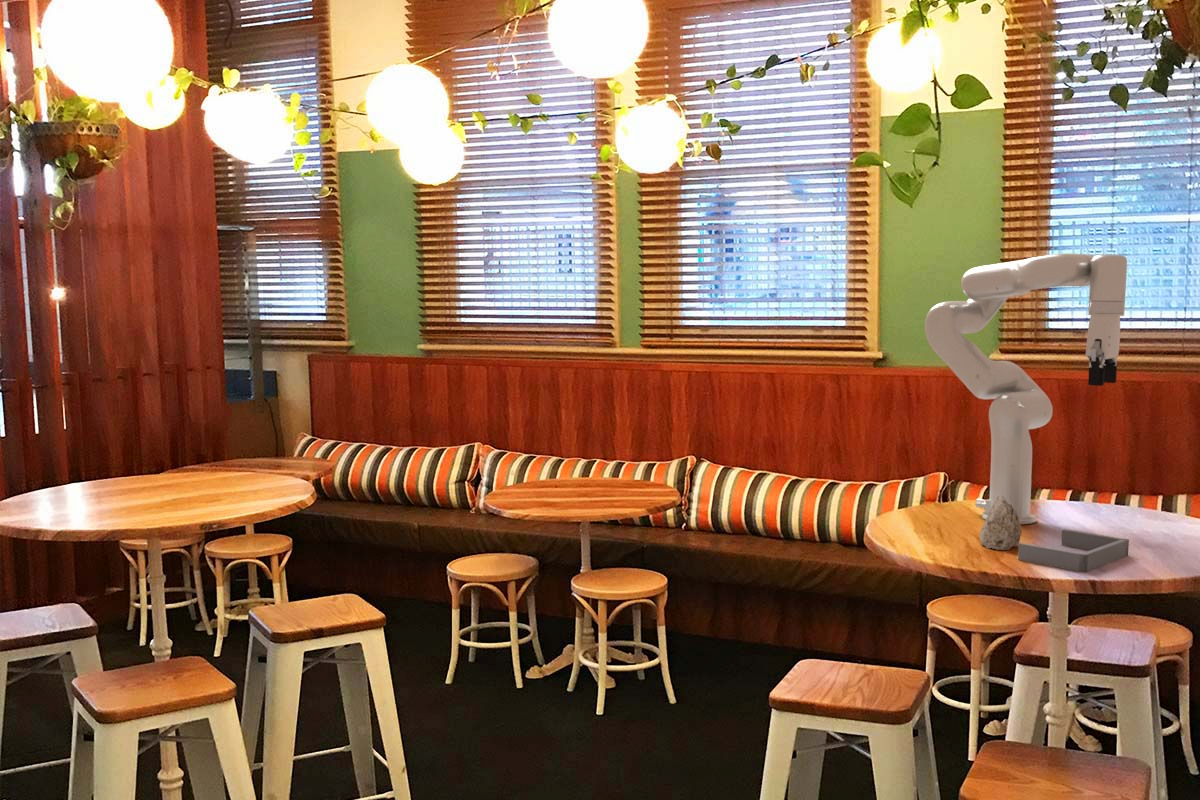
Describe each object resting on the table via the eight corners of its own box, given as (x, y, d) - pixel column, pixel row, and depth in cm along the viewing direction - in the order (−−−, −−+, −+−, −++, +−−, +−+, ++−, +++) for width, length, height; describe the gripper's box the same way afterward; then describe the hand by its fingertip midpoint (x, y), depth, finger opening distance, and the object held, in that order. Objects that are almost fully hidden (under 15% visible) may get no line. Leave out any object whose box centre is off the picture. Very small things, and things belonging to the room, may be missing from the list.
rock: (1040, 525, 251) (1005, 512, 250) (1018, 565, 254) (984, 553, 254) (1022, 499, 264) (989, 488, 263) (1002, 538, 267) (970, 527, 267)
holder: (1018, 559, 245) (1018, 543, 245) (1063, 544, 260) (1064, 529, 259) (1084, 572, 235) (1085, 555, 234) (1128, 555, 249) (1128, 539, 249)
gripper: (1100, 308, 273) (1096, 380, 274) (1077, 309, 259) (1073, 385, 261) (1134, 309, 268) (1130, 382, 270) (1112, 310, 255) (1108, 387, 256)
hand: (1102, 384), depth 265 cm, fingers open, 9 cm apart
